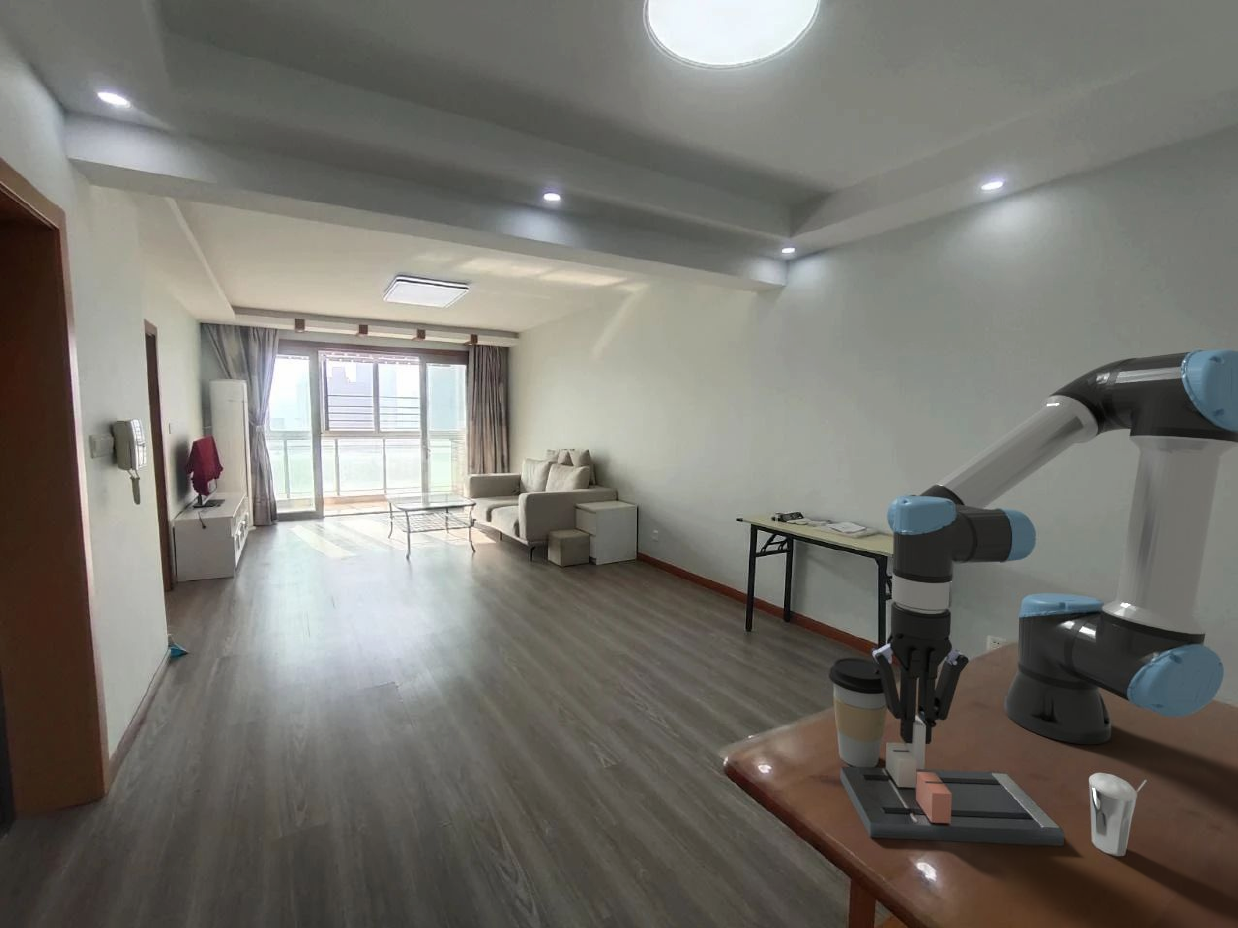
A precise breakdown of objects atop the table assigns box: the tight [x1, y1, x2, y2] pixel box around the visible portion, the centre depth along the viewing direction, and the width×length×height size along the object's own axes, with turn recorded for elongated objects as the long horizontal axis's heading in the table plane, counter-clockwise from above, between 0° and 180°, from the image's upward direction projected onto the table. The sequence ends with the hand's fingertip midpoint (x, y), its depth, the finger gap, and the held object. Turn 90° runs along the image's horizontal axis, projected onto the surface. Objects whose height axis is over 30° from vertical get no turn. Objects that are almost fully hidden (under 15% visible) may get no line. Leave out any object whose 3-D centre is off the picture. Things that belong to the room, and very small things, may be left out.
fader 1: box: [885, 742, 917, 788], centre depth 81 cm, size 2×4×4 cm, turn 176°
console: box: [839, 765, 1065, 847], centre depth 78 cm, size 24×12×2 cm, turn 86°
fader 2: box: [916, 772, 952, 823], centre depth 74 cm, size 2×4×4 cm, turn 176°
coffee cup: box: [828, 657, 888, 768], centre depth 89 cm, size 9×9×15 cm
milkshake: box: [1088, 772, 1147, 857], centre depth 70 cm, size 4×5×10 cm
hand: (914, 762), depth 81 cm, fingers closed
